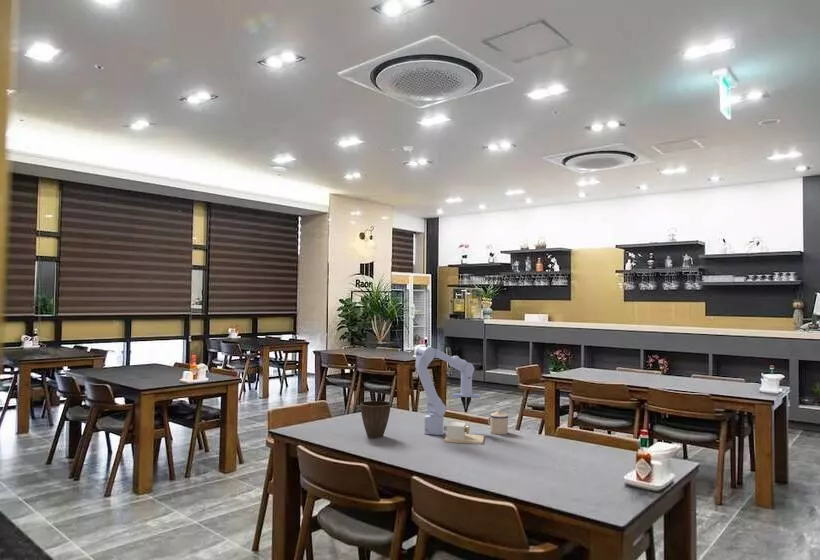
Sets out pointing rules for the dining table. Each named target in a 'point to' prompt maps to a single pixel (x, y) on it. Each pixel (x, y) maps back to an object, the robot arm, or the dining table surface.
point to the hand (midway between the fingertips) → (465, 412)
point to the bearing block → (461, 434)
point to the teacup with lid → (498, 423)
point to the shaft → (466, 429)
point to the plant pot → (375, 417)
